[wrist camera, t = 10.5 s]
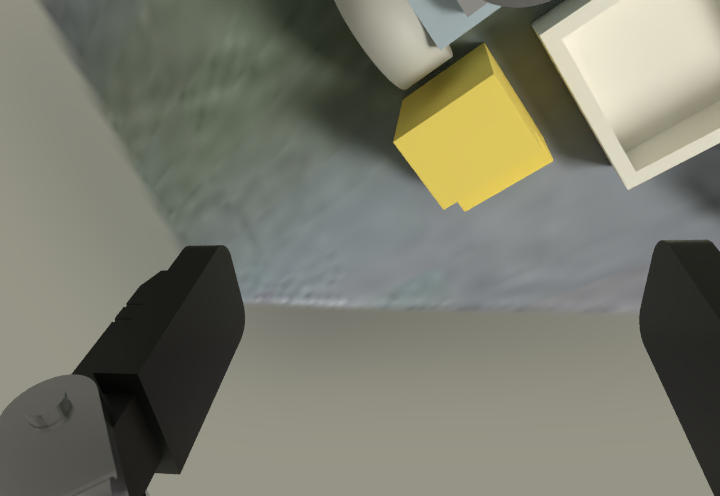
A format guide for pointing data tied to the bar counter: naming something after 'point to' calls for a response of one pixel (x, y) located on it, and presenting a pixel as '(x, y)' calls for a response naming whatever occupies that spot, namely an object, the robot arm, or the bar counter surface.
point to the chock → (469, 132)
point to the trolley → (410, 32)
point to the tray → (640, 77)
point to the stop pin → (516, 3)
